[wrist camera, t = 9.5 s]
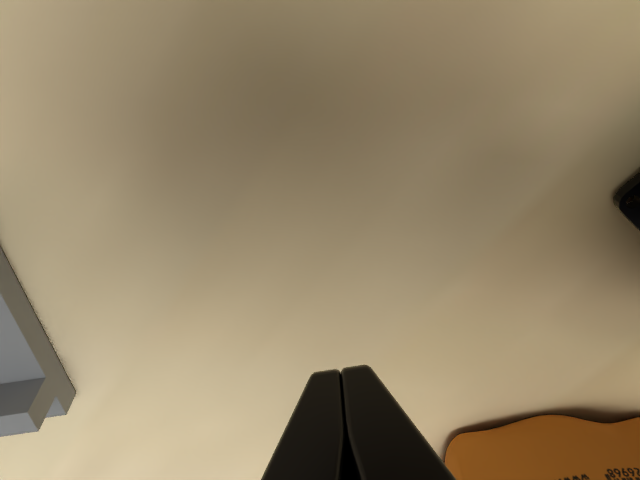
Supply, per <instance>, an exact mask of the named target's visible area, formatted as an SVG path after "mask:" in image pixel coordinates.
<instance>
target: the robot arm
mask: <svg viewBox="0 0 640 480" xmlns="http://www.w3.org/2000/svg"><path fill="white" fill-rule="evenodd" d="M631 196H634V199H633V200H632V201H631V202H629V203H626V201H627V200H628V198H630V197H631ZM614 205H615V206H616V208H617V209H618V210H619V211H620V212H621V213H622V214H623V215H624V216H625V217H626V218H627V219H628V220H629V221H630V222H631V223H632V224H633V225H634V226H635V227H636V228H637V229H638V230H639V231H640V173H638V174H637V175H636V176H635V177H633V178H632V179H631V180H630V181H629V182H627V183H626V184H625V185H624V186H623V187H621V188H620V189H619V190H618V191H617V192H616V194H615V196H614ZM261 480H456V478H455V477H454V476H453V474H452V473H451V472H450V471H449V469H448V468H447V467H446V465H445V464H444V463H443V461H442V460H441V459H440V457H439V456H438V455H437V454H436V452H435V451H434V450H433V448H432V447H431V446H430V444H429V443H428V442H427V440H426V439H425V438H424V436H423V435H422V434H421V433H420V431H419V430H418V429H417V427H416V426H415V425H414V423H413V422H412V421H411V419H410V418H409V417H408V416H407V414H406V413H405V412H404V410H403V409H402V408H401V406H400V405H399V404H398V402H397V401H396V400H395V399H394V397H393V396H392V395H391V393H390V392H389V391H388V389H387V388H386V387H385V385H384V384H383V383H382V382H381V380H380V379H379V378H378V376H377V375H376V374H375V372H374V371H373V370H372V369H371V367H369V366H368V365H360V366H353V367H346V368H343V369H342V371H341V373H340V371H339V370H337V369H333V370H326V371H319V372H314V373H313V374H312V375H311V376H310V378H309V380H308V382H307V384H306V386H305V389H304V391H303V393H302V395H301V397H300V399H299V401H298V403H297V405H296V407H295V409H294V412H293V414H292V416H291V418H290V420H289V422H288V424H287V426H286V428H285V430H284V433H283V435H282V437H281V439H280V441H279V443H278V445H277V447H276V449H275V451H274V453H273V456H272V458H271V460H270V462H269V464H268V466H267V468H266V470H265V472H264V474H263V476H262V479H261Z"/></svg>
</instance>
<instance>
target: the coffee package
mask: <svg viewBox="0 0 640 480" xmlns="http://www.w3.org/2000/svg"><path fill="white" fill-rule="evenodd" d="M445 465H446V467H447V468H448V469H449V471H450V472H451V473H452V474H453V476H454V477H455V478H456V480H640V417H638V418H633V419H629V420H625V421H622V422H616V423H597V422H592V421H587V420H583V419H579V418H574V417H570V416H564V415H542V416H536V417H532V418H528V419H524V420H521V421H518V422H515V423H511V424H508V425H505V426H502V427H498V428H494V429H490V430H485V431H477V432H469V433H463V434H459V435H458V436H456V437H455V438H454V439H453V440H452V441H451V442H450V444H449V446H448V448H447V451H446V457H445Z"/></svg>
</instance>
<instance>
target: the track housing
mask: <svg viewBox="0 0 640 480" xmlns="http://www.w3.org/2000/svg"><path fill="white" fill-rule="evenodd" d="M75 394H76V392H75V390H74V388H73V386H72V384H71V382H70V380H69V379H68V377H67V375H66V373H65V371H64V369H63V367H62V365H61V363H60V361H59V359H58V357H57V355H56V353H55V351H54V350H53V348H52V346H51V344H50V342H49V340H48V338H47V336H46V334H45V332H44V330H43V328H42V326H41V324H40V322H39V320H38V319H37V317H36V315H35V313H34V311H33V309H32V307H31V305H30V303H29V301H28V299H27V297H26V295H25V293H24V291H23V290H22V288H21V286H20V284H19V282H18V280H17V278H16V276H15V274H14V272H13V270H12V268H11V266H10V264H9V262H8V261H7V259H6V257H5V255H4V253H3V251H2V249H1V247H0V437H2V436H9V435H16V434H23V433H30V432H37V431H39V429H40V427H41V425H42V423H43V421H44V419H45V418H47V417H54V416H61V415H66V414H67V412H68V410H69V408H70V406H71V403H72V401H73V399H74V397H75Z"/></svg>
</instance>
